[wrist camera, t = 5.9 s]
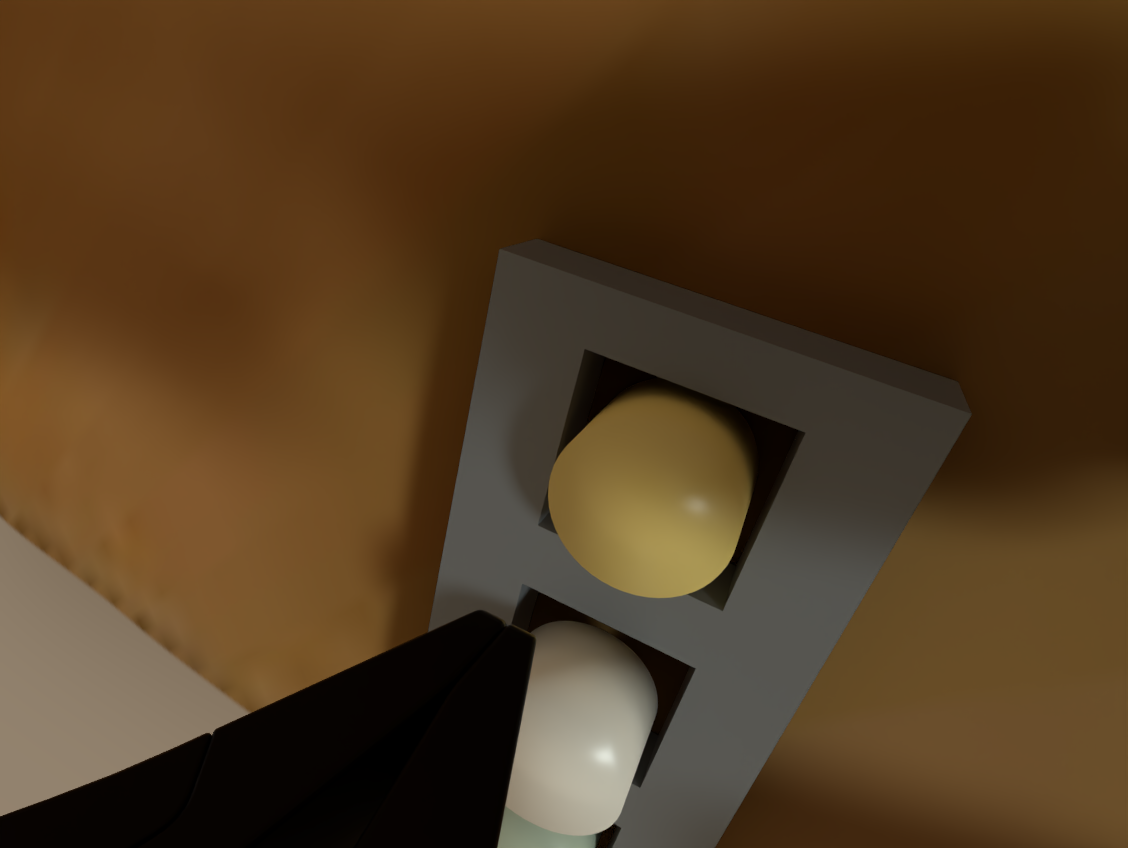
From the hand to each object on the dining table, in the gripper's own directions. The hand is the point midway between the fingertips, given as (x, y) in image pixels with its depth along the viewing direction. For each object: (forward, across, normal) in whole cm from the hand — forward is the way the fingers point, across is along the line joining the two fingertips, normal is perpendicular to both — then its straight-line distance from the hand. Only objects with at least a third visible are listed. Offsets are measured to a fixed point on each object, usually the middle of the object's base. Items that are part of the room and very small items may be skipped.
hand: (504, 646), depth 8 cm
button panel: (+9, 0, +8) cm, 12 cm away
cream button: (+8, 0, +8) cm, 11 cm away
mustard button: (+9, 0, +1) cm, 9 cm away
